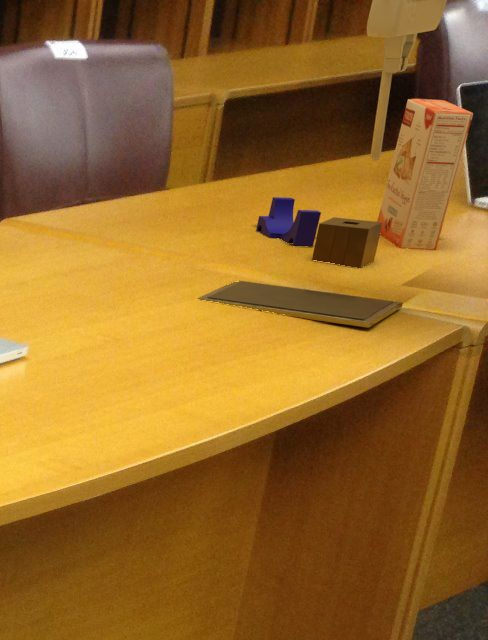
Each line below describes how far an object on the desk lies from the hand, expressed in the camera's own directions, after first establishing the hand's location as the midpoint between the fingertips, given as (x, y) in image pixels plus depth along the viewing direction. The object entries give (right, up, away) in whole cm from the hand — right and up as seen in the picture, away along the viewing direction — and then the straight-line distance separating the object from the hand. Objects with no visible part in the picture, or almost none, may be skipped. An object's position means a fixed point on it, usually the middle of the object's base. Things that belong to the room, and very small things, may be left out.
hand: (393, 72), depth 198 cm
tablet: (-9, -29, +7) cm, 31 cm away
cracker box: (+26, -9, +47) cm, 54 cm away
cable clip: (+6, -9, +46) cm, 47 cm away
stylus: (0, -10, +5) cm, 11 cm away
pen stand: (+9, -16, +32) cm, 37 cm away
